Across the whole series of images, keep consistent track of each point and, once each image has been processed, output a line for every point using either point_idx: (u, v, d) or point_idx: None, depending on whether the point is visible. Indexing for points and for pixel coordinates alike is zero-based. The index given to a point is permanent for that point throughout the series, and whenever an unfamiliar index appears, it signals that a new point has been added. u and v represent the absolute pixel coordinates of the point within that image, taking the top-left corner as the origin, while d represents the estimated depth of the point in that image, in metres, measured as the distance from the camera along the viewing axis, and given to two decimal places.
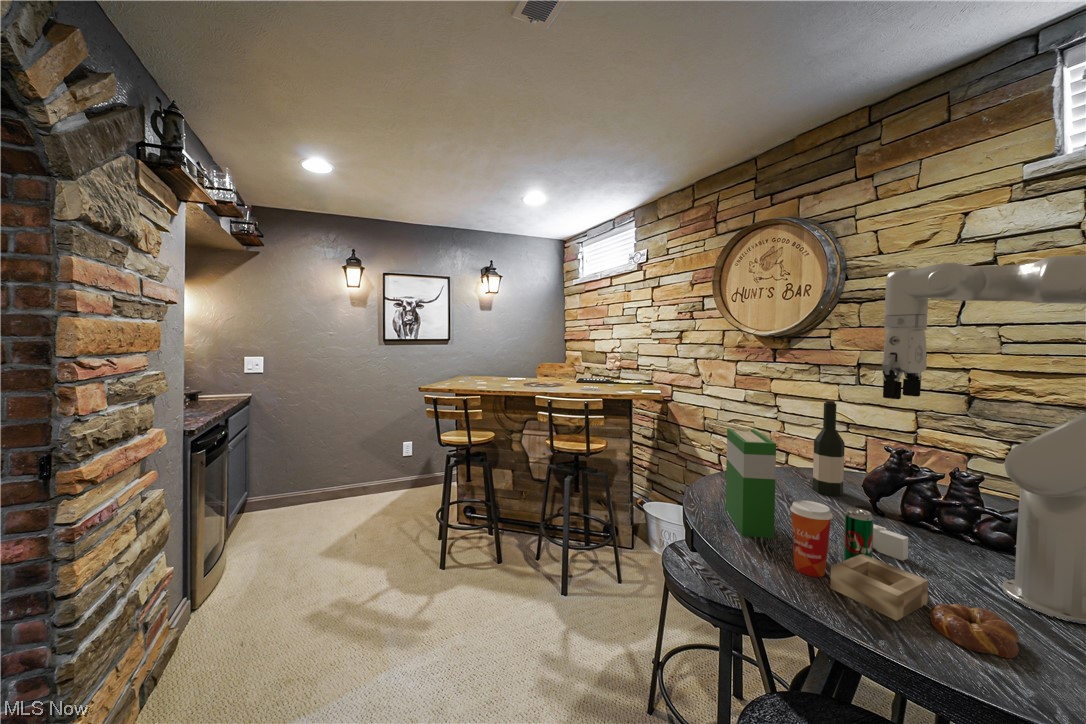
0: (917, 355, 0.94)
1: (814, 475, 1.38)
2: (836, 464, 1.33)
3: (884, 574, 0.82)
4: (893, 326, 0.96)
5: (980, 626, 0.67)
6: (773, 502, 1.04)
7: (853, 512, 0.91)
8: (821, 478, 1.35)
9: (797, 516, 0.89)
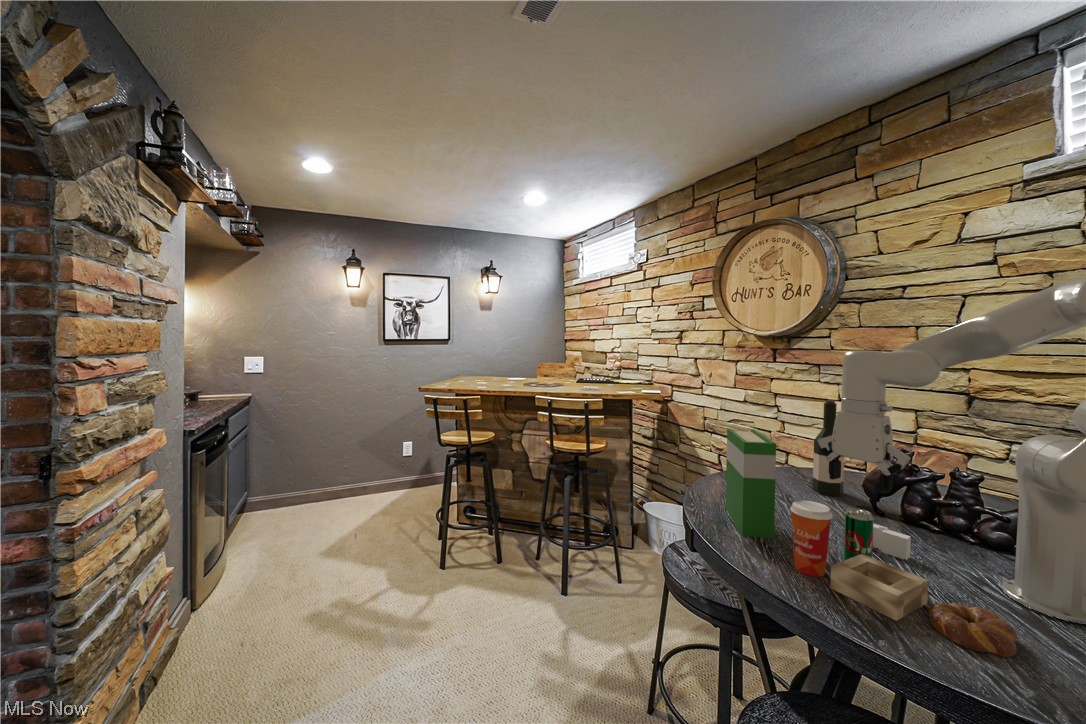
0: None
1: (814, 475, 1.38)
2: None
3: (884, 574, 0.82)
4: (879, 413, 0.87)
5: (978, 625, 0.67)
6: (773, 502, 1.04)
7: (853, 512, 0.91)
8: (821, 478, 1.35)
9: (797, 516, 0.89)
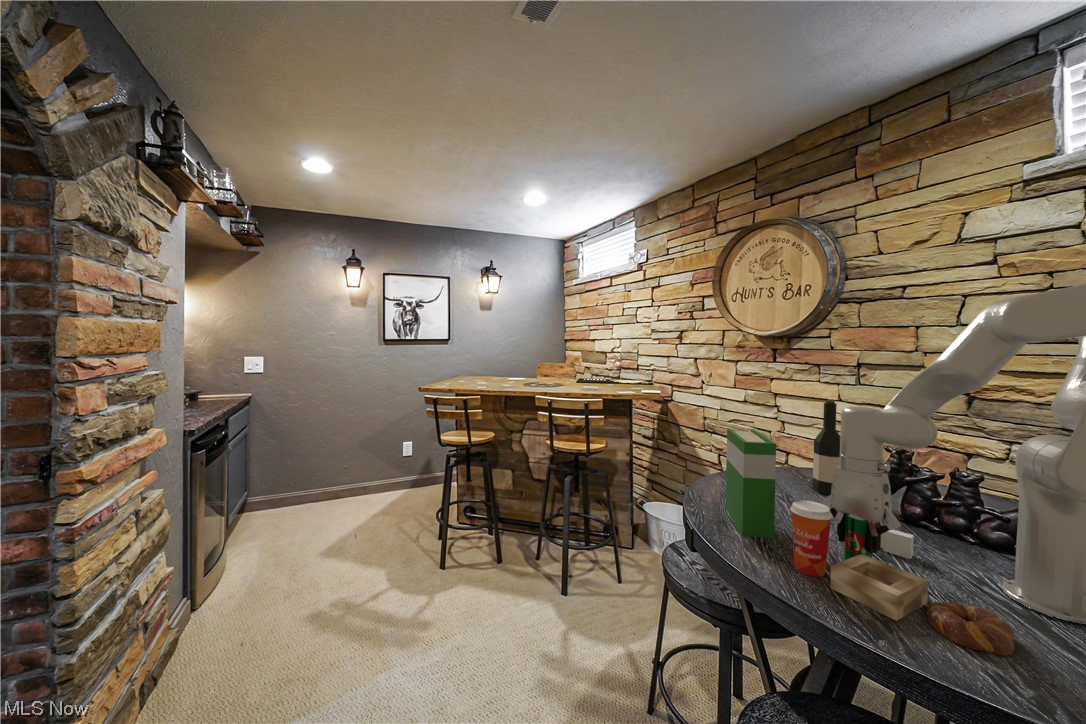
0: None
1: (814, 475, 1.38)
2: (836, 464, 1.33)
3: (884, 574, 0.82)
4: (878, 472, 0.87)
5: (976, 624, 0.68)
6: (773, 502, 1.04)
7: None
8: (821, 478, 1.35)
9: (797, 516, 0.89)
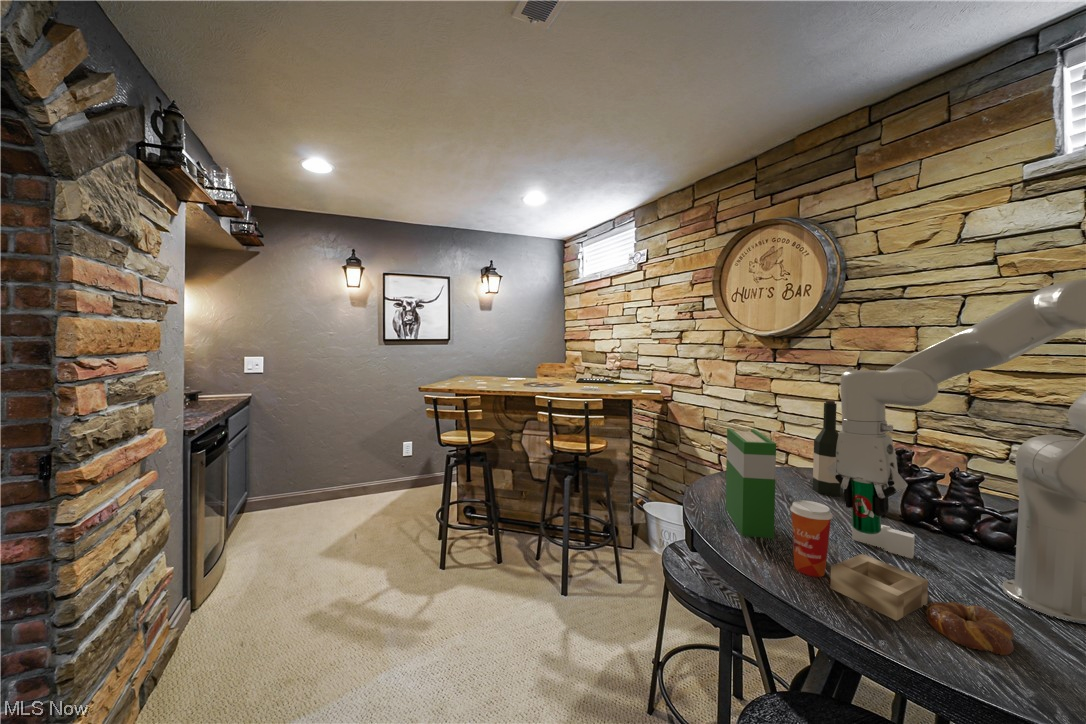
0: None
1: (814, 475, 1.38)
2: None
3: (884, 574, 0.82)
4: (881, 433, 0.87)
5: (975, 623, 0.68)
6: (773, 502, 1.04)
7: None
8: (821, 478, 1.35)
9: (797, 516, 0.89)
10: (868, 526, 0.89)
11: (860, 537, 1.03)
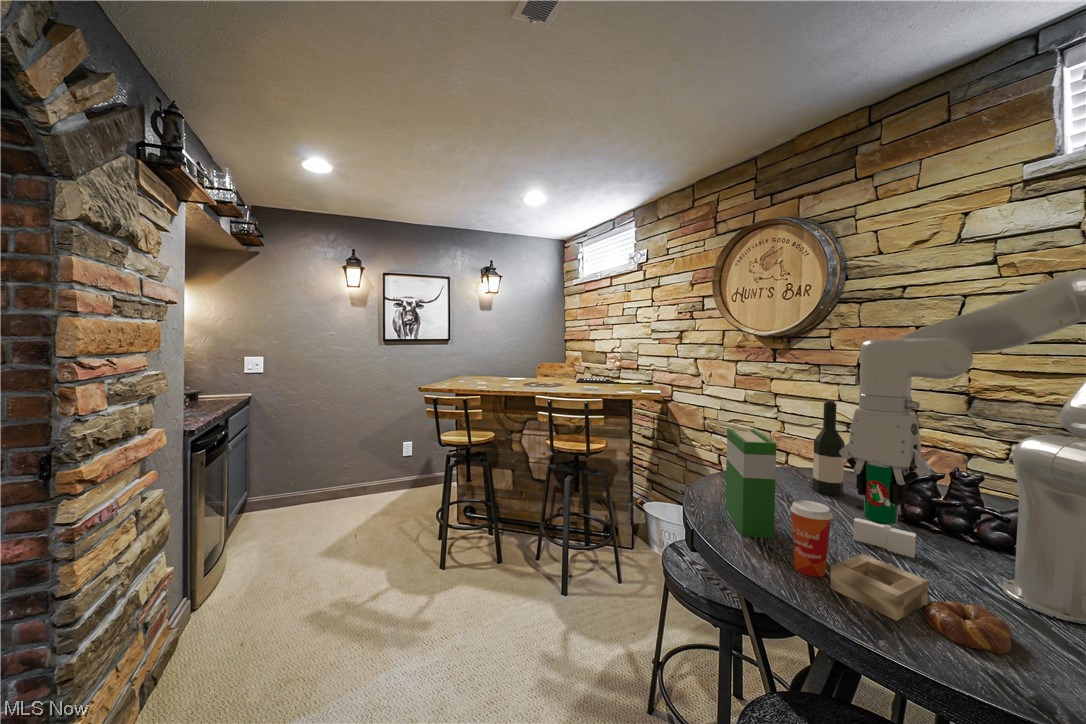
0: None
1: (814, 475, 1.38)
2: (836, 464, 1.33)
3: (884, 574, 0.82)
4: (905, 410, 0.76)
5: (973, 622, 0.68)
6: (773, 502, 1.04)
7: None
8: (821, 478, 1.35)
9: (797, 516, 0.89)
10: (882, 516, 0.78)
11: (861, 537, 1.03)
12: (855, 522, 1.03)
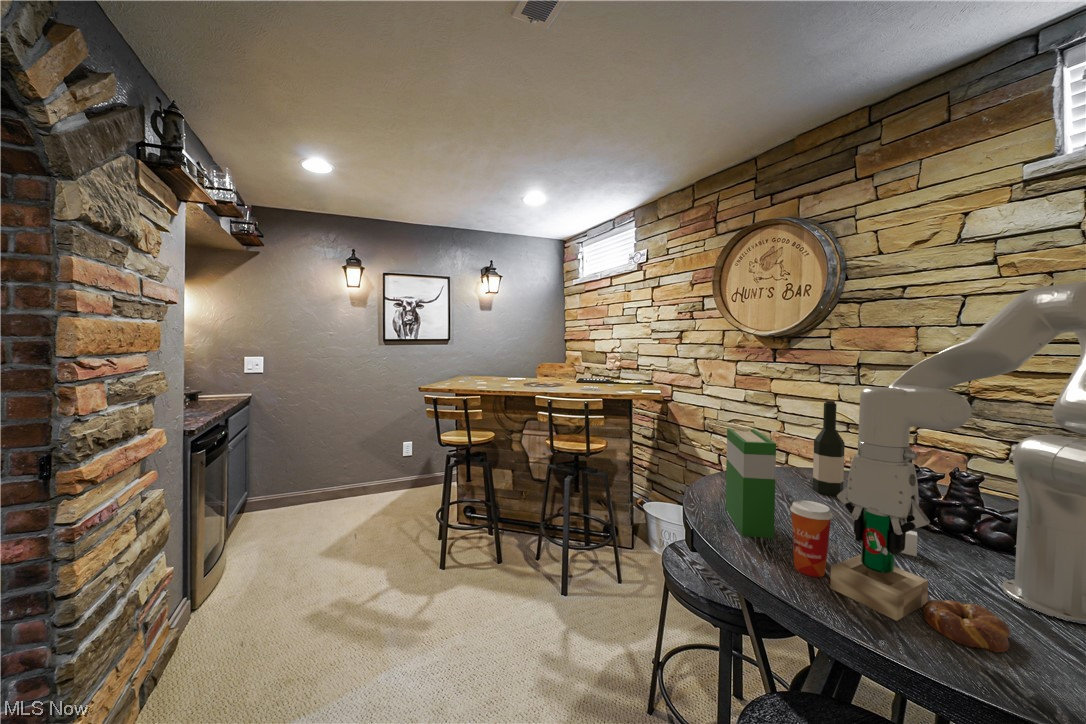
0: None
1: (814, 475, 1.38)
2: (836, 464, 1.33)
3: (884, 574, 0.82)
4: (903, 461, 0.76)
5: (971, 621, 0.68)
6: (773, 502, 1.04)
7: None
8: (821, 478, 1.35)
9: (797, 516, 0.89)
10: (879, 564, 0.78)
11: None
12: None
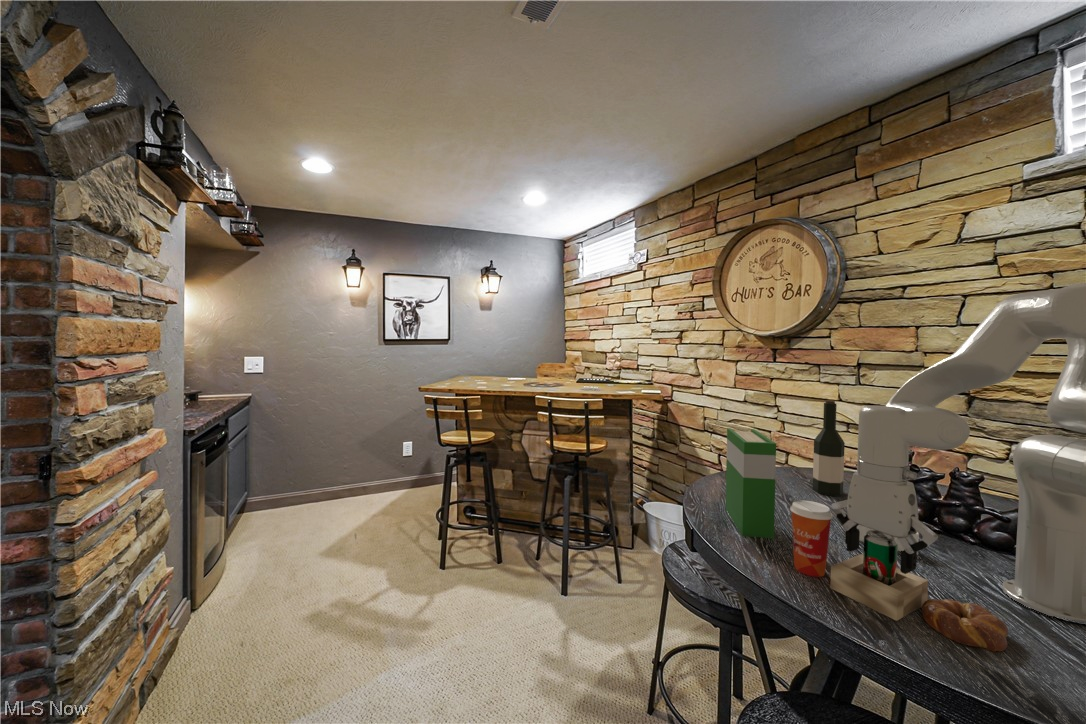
0: None
1: (814, 475, 1.38)
2: (836, 464, 1.33)
3: None
4: (902, 480, 0.76)
5: (970, 620, 0.69)
6: (773, 502, 1.04)
7: (874, 536, 0.80)
8: (821, 478, 1.35)
9: (797, 516, 0.89)
10: None
11: None
12: None
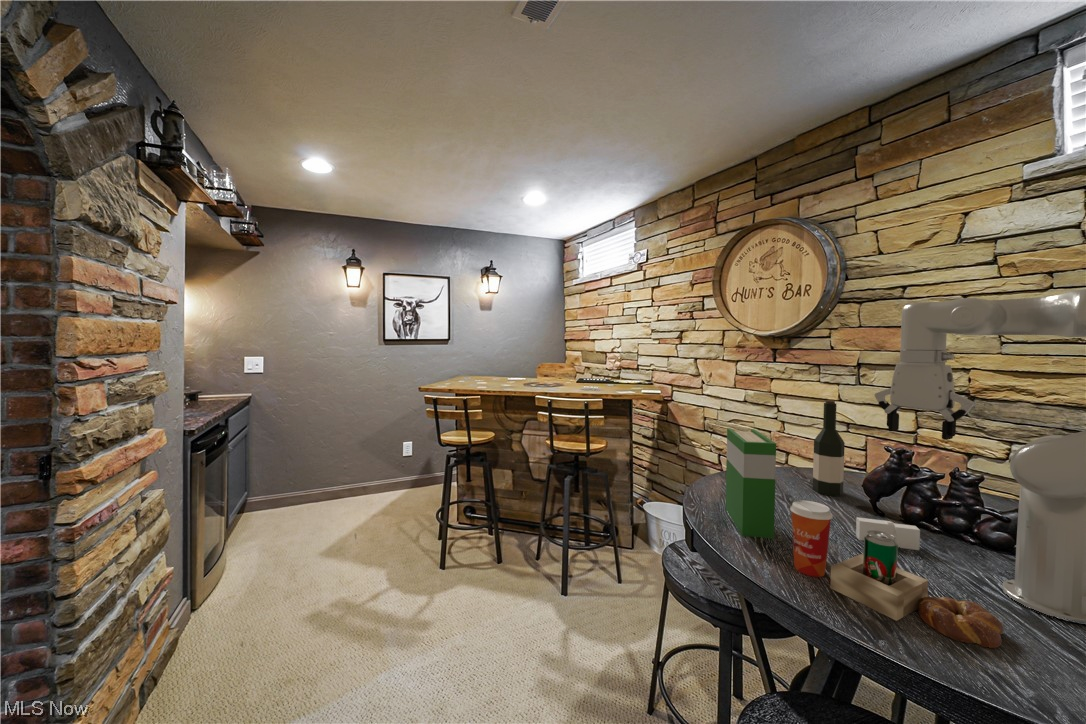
0: None
1: (814, 475, 1.38)
2: (836, 464, 1.33)
3: None
4: (941, 362, 0.89)
5: (964, 617, 0.69)
6: (773, 502, 1.04)
7: (874, 536, 0.80)
8: (821, 478, 1.35)
9: (797, 516, 0.89)
10: None
11: None
12: (861, 522, 1.03)
